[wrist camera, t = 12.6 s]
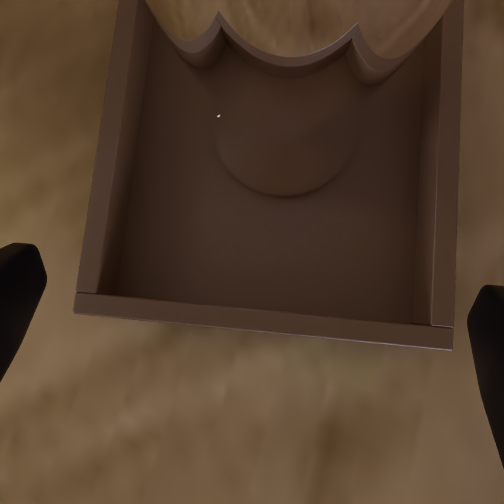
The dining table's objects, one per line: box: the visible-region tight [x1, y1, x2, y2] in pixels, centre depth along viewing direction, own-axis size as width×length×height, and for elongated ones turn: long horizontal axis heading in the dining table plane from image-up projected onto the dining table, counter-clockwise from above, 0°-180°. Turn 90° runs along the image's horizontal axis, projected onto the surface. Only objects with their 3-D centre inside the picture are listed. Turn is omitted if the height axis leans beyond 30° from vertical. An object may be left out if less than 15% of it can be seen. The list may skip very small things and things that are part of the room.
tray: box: [73, 0, 464, 351], centre depth 17 cm, size 18×14×3 cm
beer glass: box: [145, 0, 453, 196], centre depth 10 cm, size 7×7×15 cm
